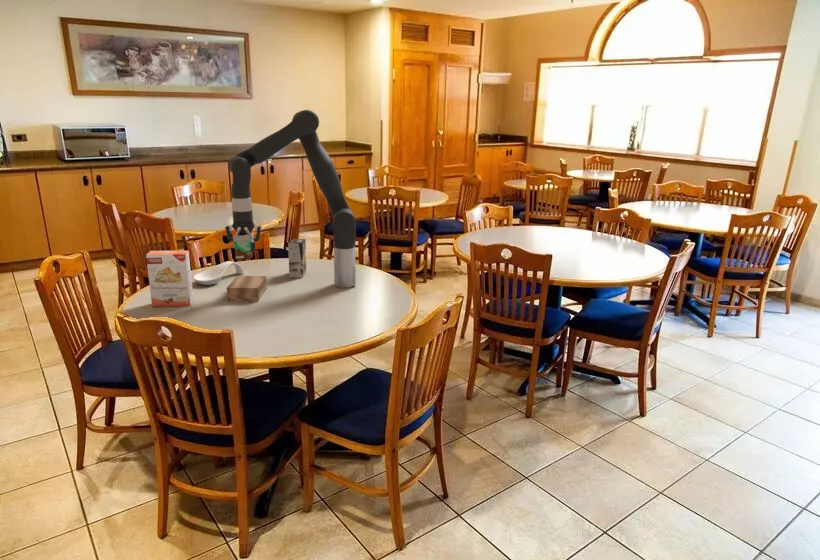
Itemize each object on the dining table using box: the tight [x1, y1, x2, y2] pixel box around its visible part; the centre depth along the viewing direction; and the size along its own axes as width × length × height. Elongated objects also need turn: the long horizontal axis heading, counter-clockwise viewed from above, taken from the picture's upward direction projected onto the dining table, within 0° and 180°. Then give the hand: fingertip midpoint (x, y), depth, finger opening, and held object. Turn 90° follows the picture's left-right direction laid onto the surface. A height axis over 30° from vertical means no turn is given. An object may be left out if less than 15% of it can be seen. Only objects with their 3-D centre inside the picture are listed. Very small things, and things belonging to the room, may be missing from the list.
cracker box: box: [145, 250, 194, 308], centre depth 204 cm, size 14×6×21 cm, turn 99°
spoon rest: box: [193, 260, 245, 286], centre depth 237 cm, size 24×12×7 cm, turn 149°
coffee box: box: [287, 238, 308, 279], centre depth 245 cm, size 9×6×16 cm
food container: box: [232, 232, 255, 261], centre depth 214 cm, size 12×6×10 cm, turn 179°
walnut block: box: [226, 275, 268, 303], centre depth 219 cm, size 12×16×6 cm
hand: (245, 251), depth 214 cm, fingers closed on food container, 5 cm apart
